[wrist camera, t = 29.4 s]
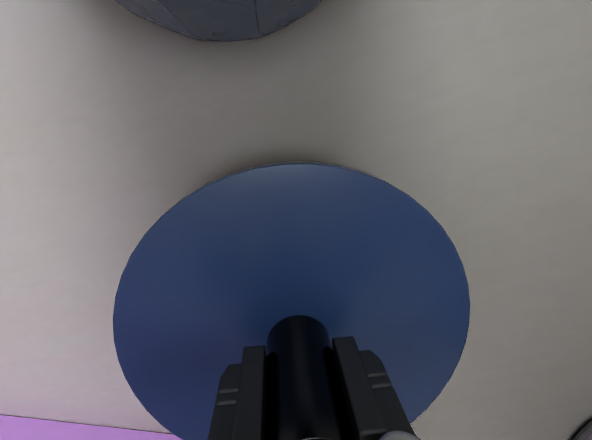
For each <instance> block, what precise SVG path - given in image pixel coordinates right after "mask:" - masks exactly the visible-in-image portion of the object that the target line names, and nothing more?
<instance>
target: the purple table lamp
mask: <svg viewBox="0 0 592 440" xmlns="http://www.w3.org/2000/svg"><path fill="white" fill-rule="evenodd" d="M0 440H182V439H180V438H179V437H177V436H175V435H174V434H165V433H156V432H147V431H138V430H130V429H121V428H112V427H103V426H94V425H85V424H77V423H68V422H59V421H50V420H41V419H32V418H24V417H15V416H6V415H0Z"/></svg>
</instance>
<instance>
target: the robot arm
mask: <svg viewBox="0 0 592 440" xmlns="http://www.w3.org/2000/svg"><path fill="white" fill-rule="evenodd" d="M332 351H333V354H334V358H335V362H336V366H337V370H338V374H339V378H340V382H341V386H342V390H343V394H344V398H345V401H346V405H347V409H348V413H349V417H350V421H351V425H352V429H353V433H354V437H355V440H421V439H419V438H418V437H417V436H416V435H415V433H414V431H413V430H412V428H411V425H410V423H409V421H408V419H407V416H406V414H405V412H404V410H403V407H402V405H401V403H400V401H399V399H398V396H397V394H396V392H395V390H394V387H392V383H391V381H390V378H389V376H388V375H387V372H386V369H385V367H384V365H383V363H382V361H381V359H380V358H379V357H378V356H376V355H375V354H374V353H373V352H372V351H371V350H363V351H359V350H358V347H357V344H356V341H355V339H354V337H353V336H346V337H337V338H332ZM266 364H267V355H266V348H265V345H258V346H249V347H244V349H243V356H242V363H240V364H231V365H228V367H227V368H226V370H225V371H224V373H223V374H222V376H221V377H220V381H219V386H218V391H217V396H216V401H215V406H214V411H213V415H212V420H211V425H210V430H209V435H208V440H264V438H265V401H266ZM573 440H592V420H591V421H590V422H589V423H588V424H587V425H585V426H584V427H583V428H582V429H581V430H580V431H579V433H578V434H577V435H576V436H575V437H574V439H573Z"/></svg>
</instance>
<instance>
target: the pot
mask: <svg viewBox="0 0 592 440" xmlns="http://www.w3.org/2000/svg"><path fill="white" fill-rule="evenodd" d="M115 1H117V2H118V3H120V4H121V5H122V6H124V7H125V8H126V9H128V10H129V11H130V12H132V13H134V14H135V15H137V16H139V17H142V18H144V19H147V20H149V21H151V22H153V23H155V24H157V25H160V26H162V27H164V28H166V29H168V30H170V31H173V32H176V33H179V34H183V35H186V36H189V37H192V38H195V39H199V40H210V41H237V40H245V39H252V38H255V37H259V36H263V35H266V34H270V33H272V32H274V31H276V30H279V29H281V28H283V27H286V26H287V25H289V24H291V23H292V22H294V21H296V20H297V19H299V18H300V17H302V16H304V15H305V14H306V13H307V12H308V11H310V10H312V9H313V8H314V7H316V6H317V5H318V4H319V2H320V1H321V0H115Z"/></svg>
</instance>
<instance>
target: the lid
mask: <svg viewBox="0 0 592 440" xmlns="http://www.w3.org/2000/svg"><path fill="white" fill-rule="evenodd" d="M469 317H470V299H469V289H468V283H467V279H466V275H465V271H464V268H463V264H462V262H461V260H460V257H459V255H458V253H457V251H456V249H455V246H454V244H453V243H452V241H451V240H450V238H449V237H448V235H447V234H446V232H445V231H444V229H443V228H442V226H441V225H440V224H439V223H438V222H437V221H436V220H435V219H434V217H433V216H432V215H431V214H430V213H429V212H428V211H427V210H426V209H425V208H424V207H422V206H421V205H420V204H419V203H417V202H416V201H415V200H414V199H413V198H411V197H410V196H409V195H407V194H406V193H404V192H402V191H401V190H399V189H397V188H395V187H394V186H392V185H390V184H389V183H387V182H385V181H383V180H381V179H378V178H376V177H374V176H371V175H369V174H366V173H364V172H362V171H358V170H354V169H351V168H347V167H343V166H339V165H334V164H326V163H318V162H280V163H273V164H266V165H259V166H254V167H251V168H247V169H244V170H240V171H237V172H233V173H230V174H228V175H226V176H223V177H221V178H219V179H216V180H214V181H212V182H209V183H207V184H205V185H204V186H202V187H200V188H199V189H197V190H195V191H194V192H192V193H191V194H189V195H187V196H186V197H184V198H183V199H182V200H180V201H179V202H178V203H177V204H176V205H174V206H173V207H172V208H171V209H169V210H168V211H167V212H166V213H165V214H163V215H162V216H161V217H160V218H159V219H158V221H157V222H156V223H155V224H154V225H153V226H152V227H151V228H150V229H149V230H148V231H147V233H146V234H145V235H144V236H143V238H142V239H141V241H140V242H139V244H138V245H137V247H136V248H135V250H134V251H133V253H132V254H131V256H130V258H129V260H128V263H127V265H126V267H125V269H124V271H123V273H122V276H121V279H120V282H119V286H118V290H117V293H116V297H115V305H114V314H113V330H114V342H115V347H116V352H117V356H118V360H119V363H120V366H121V368H122V371H123V373H124V376H125V378H126V380H127V382H128V384H129V385H130V387H131V389H132V391H133V392H134V394H135V396H136V397H137V398H138V400H139V401H140V402H141V404H142V405H143V406H144V407H145V409H146V410H147V411H148V412H149V413H150V414H151V415H152V416H153V417H154V418H155V419H156V420H157V421H158V422H159V423H160V424H161V425H162V426H164V427H165V428H166V429H168V430H169V431H170V432H172V433H173V434H174V435H175V436H177V437H179V438H180V439H182V440H208V435H209V430H210V425H211V420H212V415H213V411H214V406H215V401H216V396H217V391H218V386H219V381H220V377H221V376H222V374H223V373H224V371H225V370H226V368H227V367H228V365H231V364H240V363H242V356H243V349H244V347H249V346H258V345H265V348H266V355H267V364H266V401H265V438H264V440H355V437H354V433H353V429H352V425H351V421H350V417H349V413H348V409H347V405H346V401H345V398H344V394H343V390H342V386H341V382H340V378H339V374H338V370H337V366H336V362H335V358H334V354H333V351H332V338H337V337H346V336H353V337H354V339H355V341H356V344H357V347H358V350H359V351H363V350H371V351H372V352H373V353H374V354H375V355H376V356H378V357H379V358H380V359H381V361H382V363H383V365H384V367H385V369H386V372H387V375H388V376H389V378H390V381H391V383H392V387H394V390H395V392H396V394H397V396H398V399H399V401H400V403H401V405H402V407H403V410H404V412H405V414H406V416H407V419H408V421H409V423H411V422H413V421H414V420H415V419H416V418H417V417H418V416H419V415H420V414H422V413H423V412H424V411H425V410H426V409H427V408H428V407H429V406H430V404H431V403H432V402H433V401H434V400H435V399H436V397H437V396H438V395H439V394H440V393H441V391H442V390H443V388H444V387H445V385H446V384H447V382H448V381H449V379H450V378H451V376H452V374H453V372H454V370H455V368H456V366H457V364H458V362H459V360H460V357H461V354H462V351H463V348H464V345H465V342H466V337H467V332H468V327H469Z"/></svg>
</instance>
